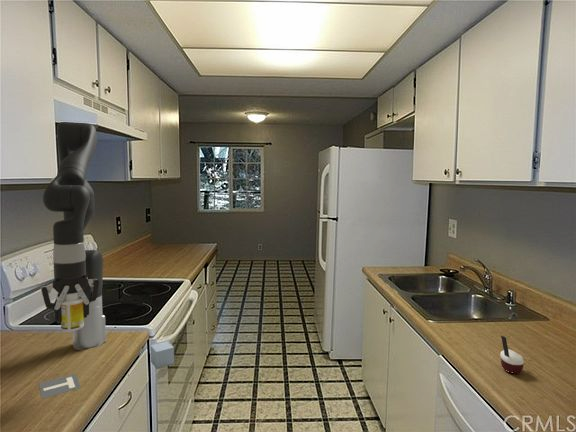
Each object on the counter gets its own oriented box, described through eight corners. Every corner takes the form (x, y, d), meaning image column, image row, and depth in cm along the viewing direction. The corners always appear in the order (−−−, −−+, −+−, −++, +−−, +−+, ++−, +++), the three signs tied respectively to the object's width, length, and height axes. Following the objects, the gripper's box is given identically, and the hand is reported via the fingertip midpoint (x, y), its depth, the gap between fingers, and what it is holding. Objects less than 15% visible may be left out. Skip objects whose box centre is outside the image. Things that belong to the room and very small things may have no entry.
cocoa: (518, 367, 123) (522, 332, 122) (530, 377, 117) (535, 339, 116) (489, 365, 123) (493, 330, 122) (499, 375, 117) (504, 337, 116)
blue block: (150, 361, 120) (150, 345, 120) (167, 357, 124) (167, 341, 123) (156, 369, 116) (156, 352, 115) (174, 364, 119) (173, 347, 119)
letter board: (39, 385, 105) (39, 383, 105) (75, 376, 111) (75, 373, 111) (42, 401, 98) (41, 398, 98) (81, 390, 103) (80, 387, 103)
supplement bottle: (87, 323, 107) (86, 288, 106) (79, 331, 102) (77, 295, 100) (66, 324, 106) (65, 289, 105) (57, 332, 101) (55, 295, 100)
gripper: (95, 253, 109) (97, 309, 111) (36, 259, 100) (39, 320, 102) (102, 258, 103) (103, 317, 105) (39, 265, 94) (42, 330, 96)
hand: (72, 319), depth 104 cm, fingers closed on supplement bottle, 5 cm apart
